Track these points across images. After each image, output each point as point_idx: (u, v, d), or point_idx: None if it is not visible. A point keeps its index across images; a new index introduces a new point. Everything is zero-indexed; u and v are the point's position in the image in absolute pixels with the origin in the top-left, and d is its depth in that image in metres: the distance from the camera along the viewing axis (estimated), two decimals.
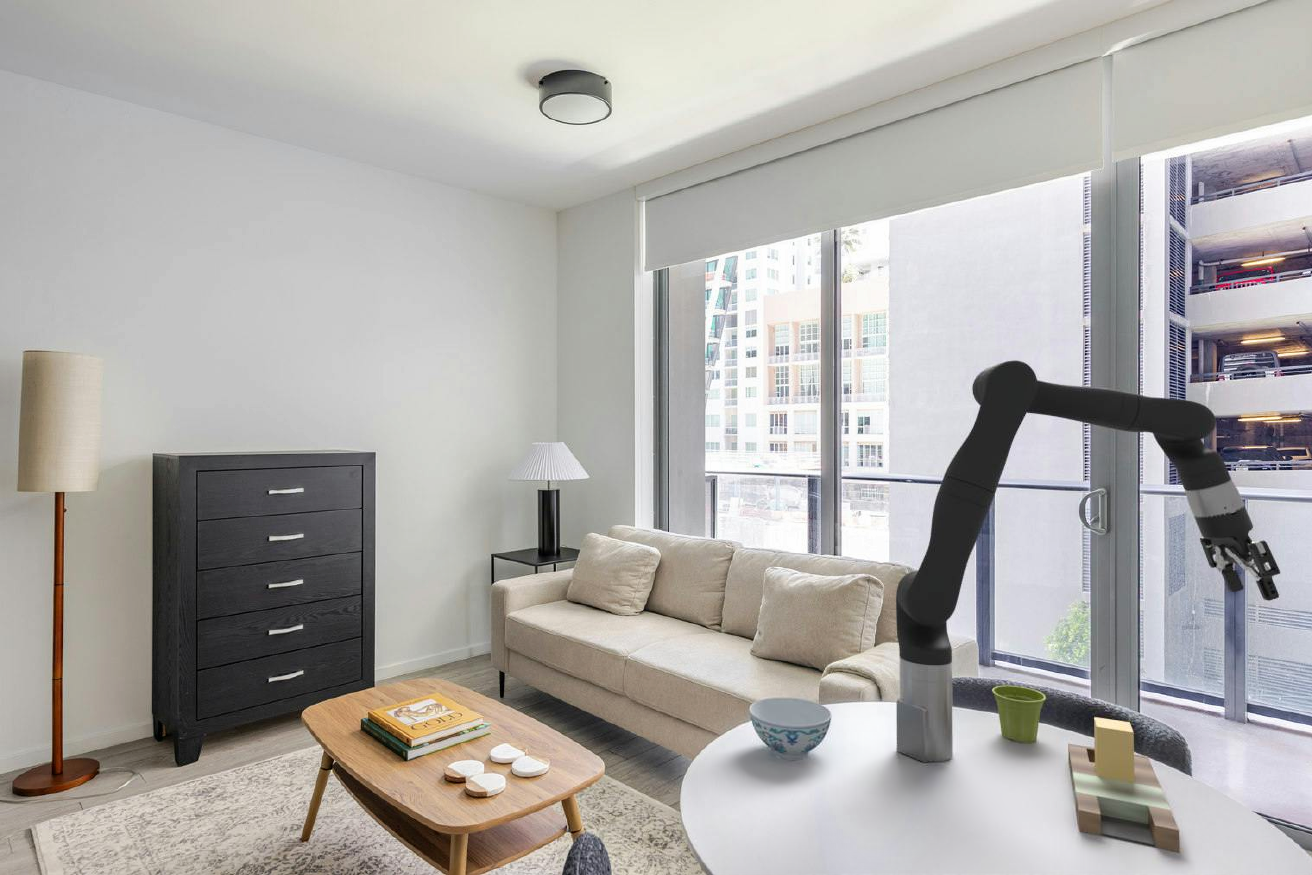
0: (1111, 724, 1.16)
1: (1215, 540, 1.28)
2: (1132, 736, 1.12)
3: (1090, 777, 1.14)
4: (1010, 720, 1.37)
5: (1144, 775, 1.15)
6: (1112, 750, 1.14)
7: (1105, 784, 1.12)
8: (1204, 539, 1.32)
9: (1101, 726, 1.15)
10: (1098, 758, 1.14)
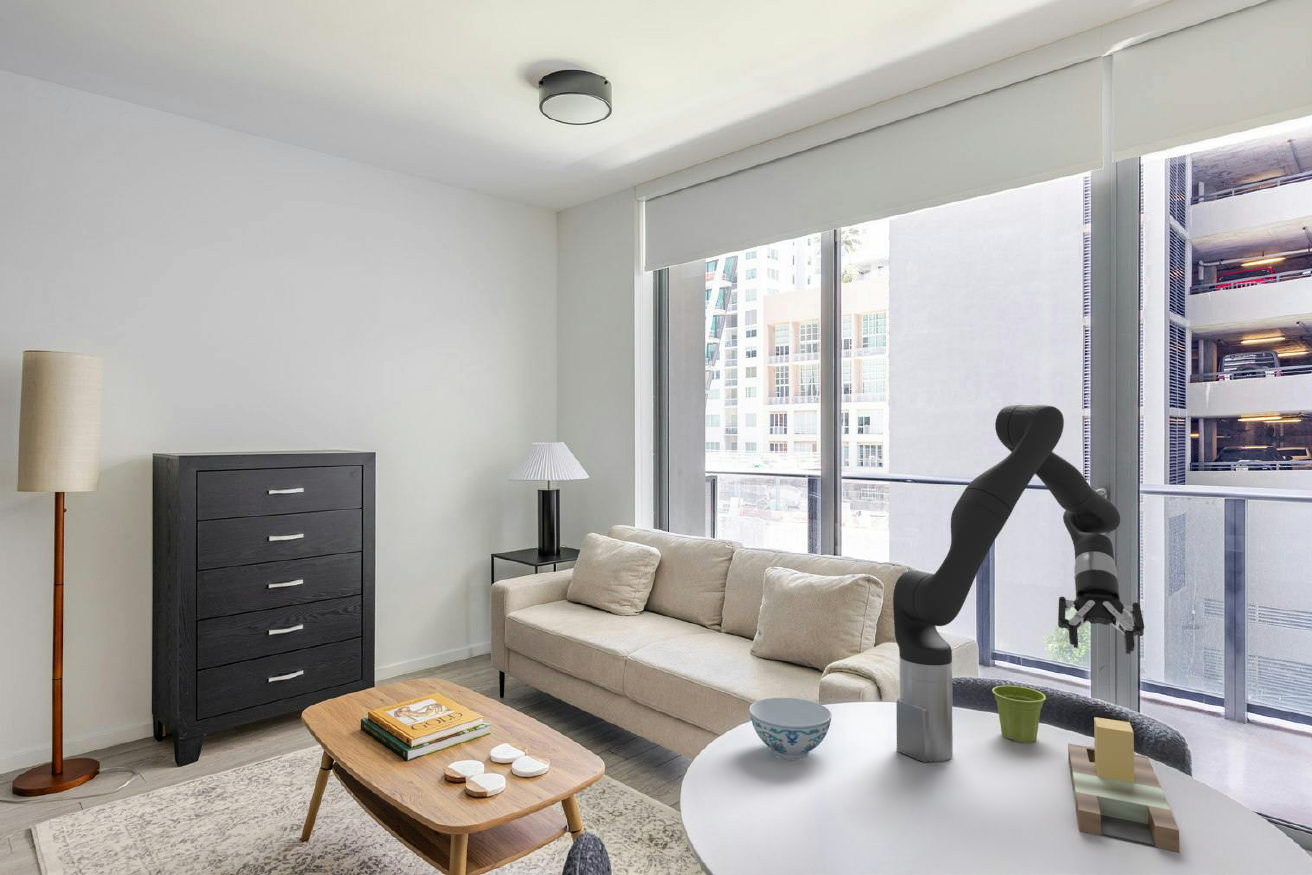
0: (1111, 724, 1.16)
1: (1084, 599, 1.41)
2: (1132, 736, 1.12)
3: (1090, 777, 1.14)
4: (1010, 720, 1.37)
5: (1144, 775, 1.15)
6: (1112, 750, 1.14)
7: (1105, 784, 1.12)
8: None
9: (1101, 726, 1.15)
10: (1098, 758, 1.14)
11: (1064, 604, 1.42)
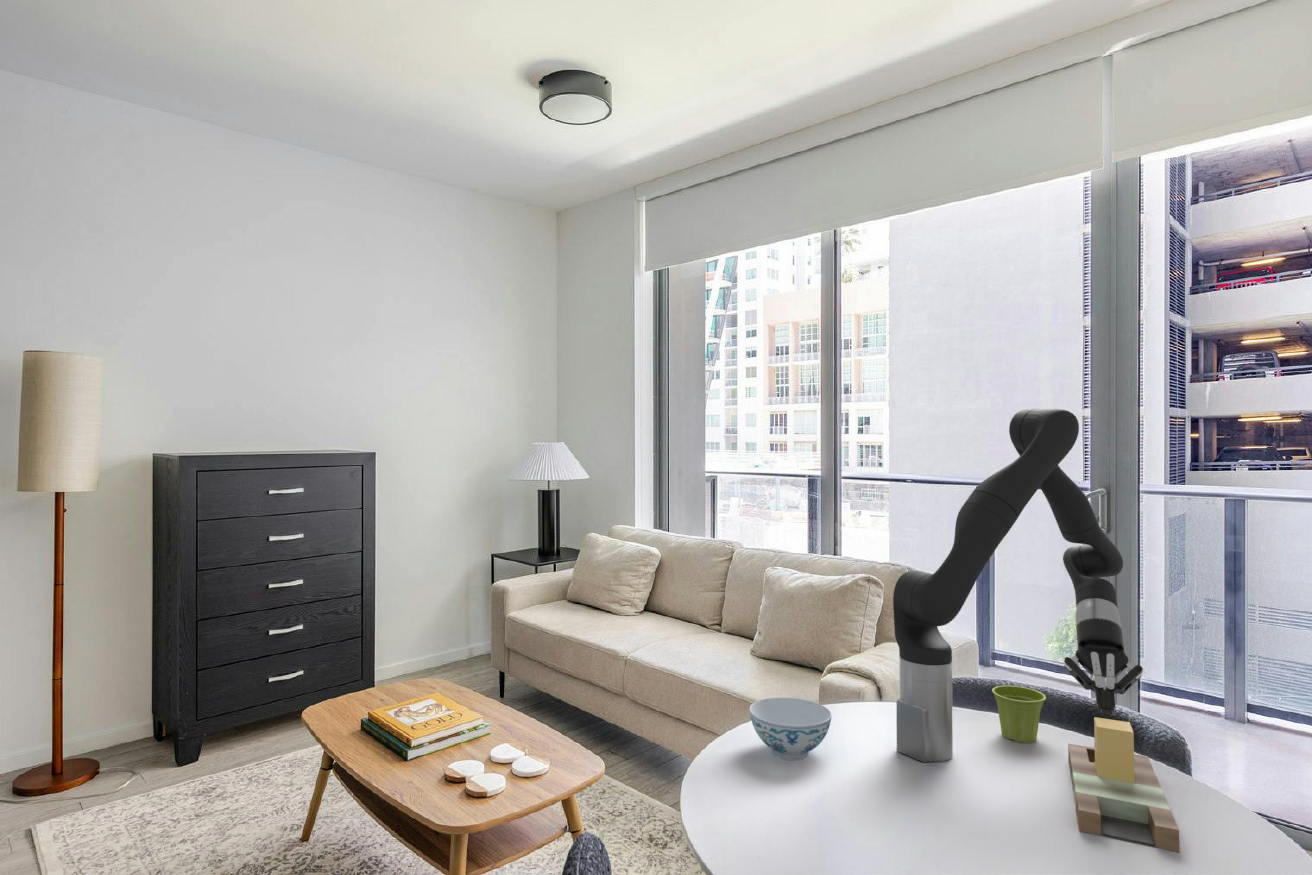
0: (1111, 724, 1.16)
1: (1082, 648, 1.34)
2: (1132, 736, 1.12)
3: (1090, 777, 1.14)
4: (1010, 720, 1.37)
5: (1144, 775, 1.15)
6: (1112, 750, 1.14)
7: (1105, 784, 1.12)
8: None
9: (1101, 726, 1.15)
10: (1098, 758, 1.14)
11: (1075, 664, 1.32)
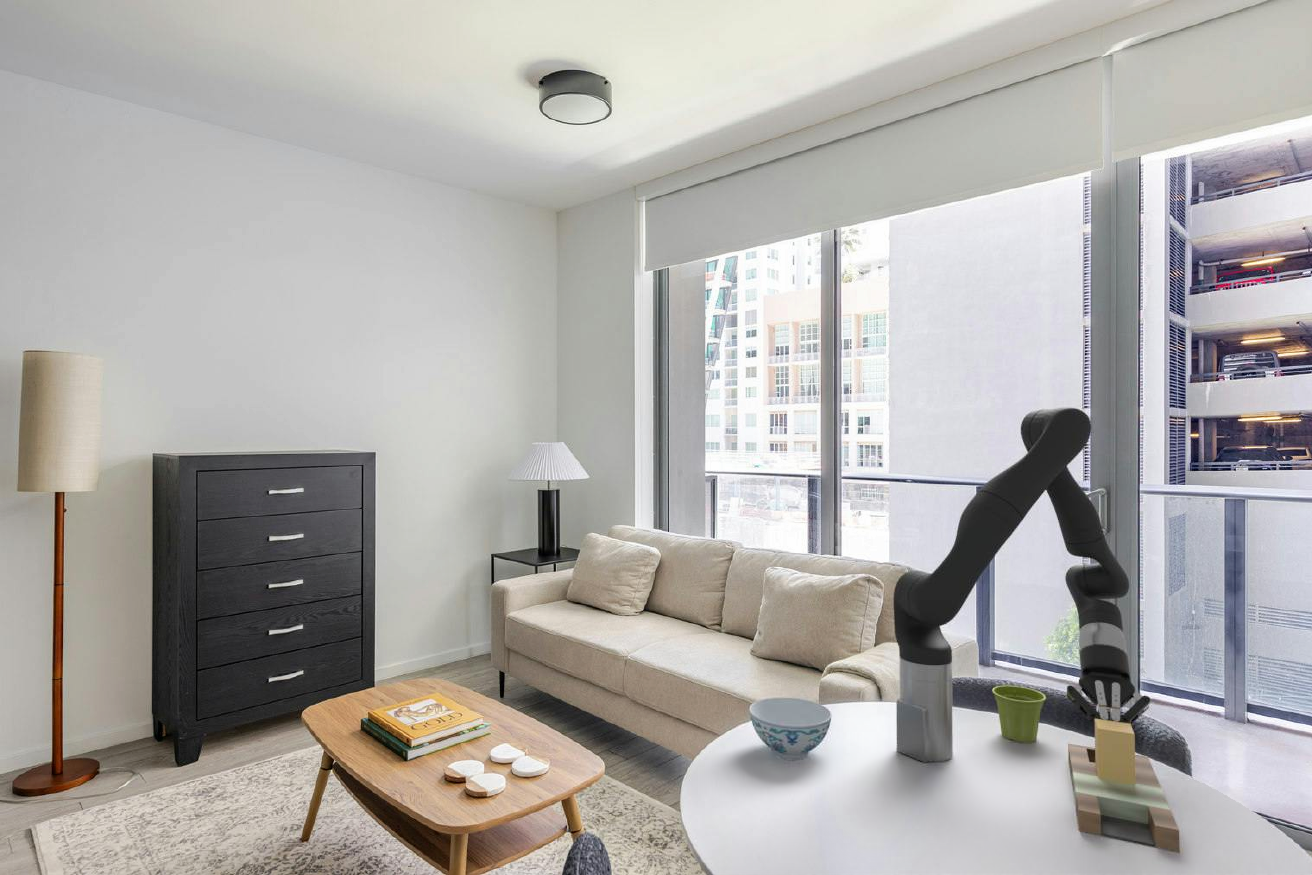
0: (1111, 726, 1.15)
1: (1086, 676, 1.26)
2: (1133, 738, 1.12)
3: (1090, 777, 1.14)
4: (1010, 720, 1.37)
5: (1144, 775, 1.15)
6: (1113, 752, 1.13)
7: (1105, 784, 1.12)
8: None
9: (1102, 728, 1.14)
10: (1099, 760, 1.14)
11: (1078, 693, 1.24)
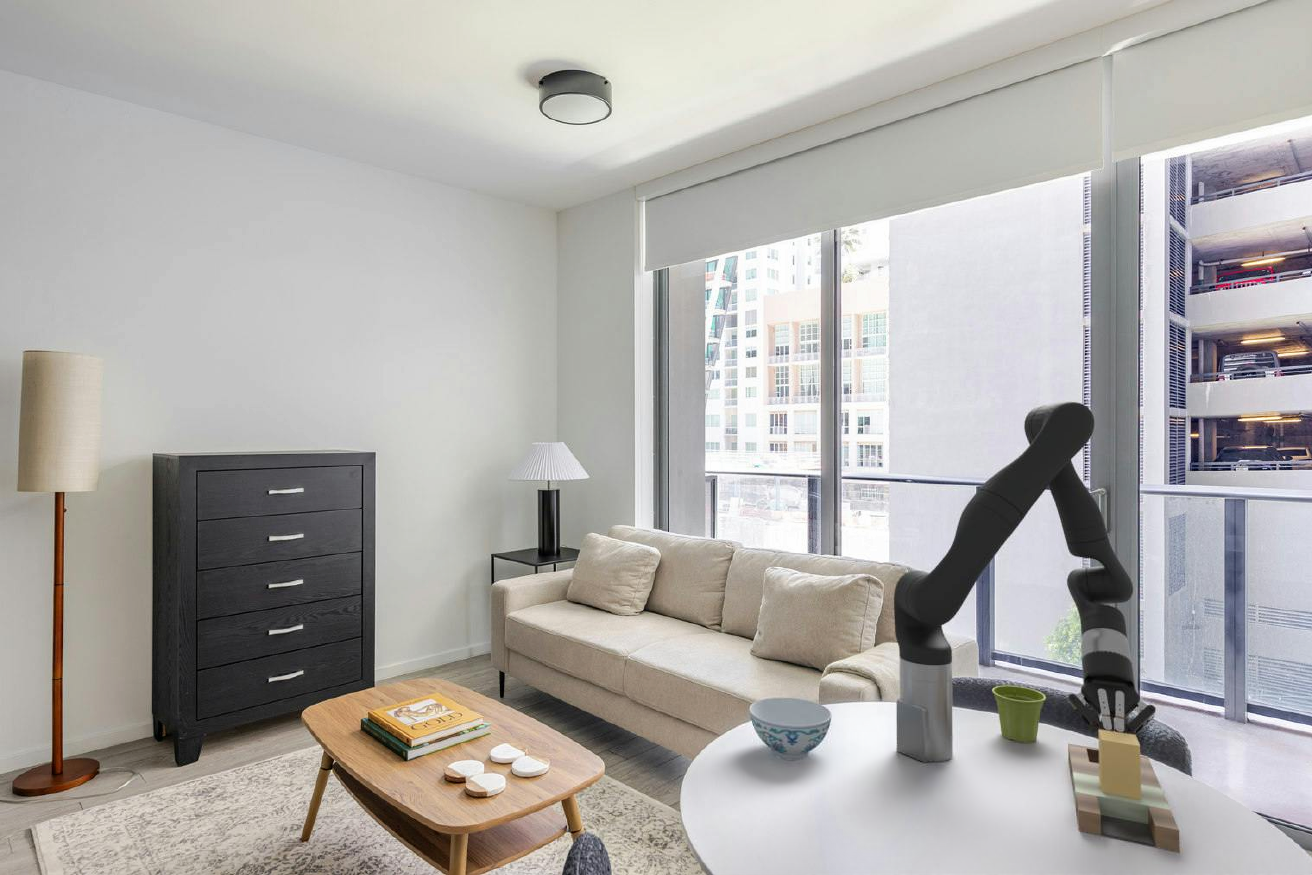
0: (1116, 737, 1.10)
1: (1089, 684, 1.21)
2: (1139, 750, 1.07)
3: (1090, 777, 1.14)
4: (1010, 720, 1.37)
5: (1144, 775, 1.15)
6: (1118, 765, 1.08)
7: None
8: None
9: (1106, 739, 1.09)
10: (1103, 773, 1.09)
11: (1080, 702, 1.19)
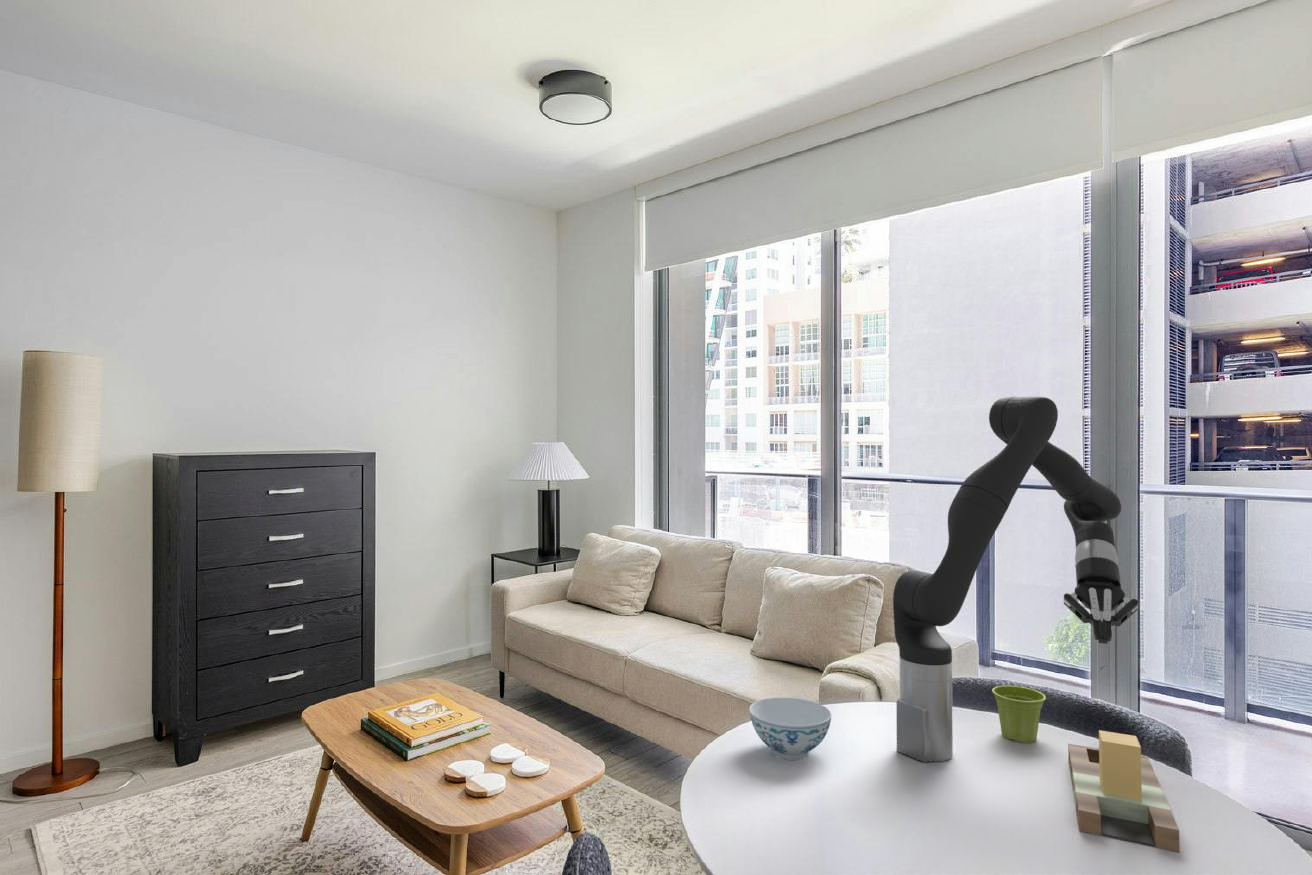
0: (1116, 738, 1.10)
1: (1081, 585, 1.40)
2: (1139, 751, 1.06)
3: (1090, 777, 1.14)
4: (1010, 720, 1.37)
5: (1144, 775, 1.15)
6: (1118, 766, 1.08)
7: None
8: None
9: (1107, 741, 1.09)
10: (1103, 774, 1.08)
11: (1073, 599, 1.39)
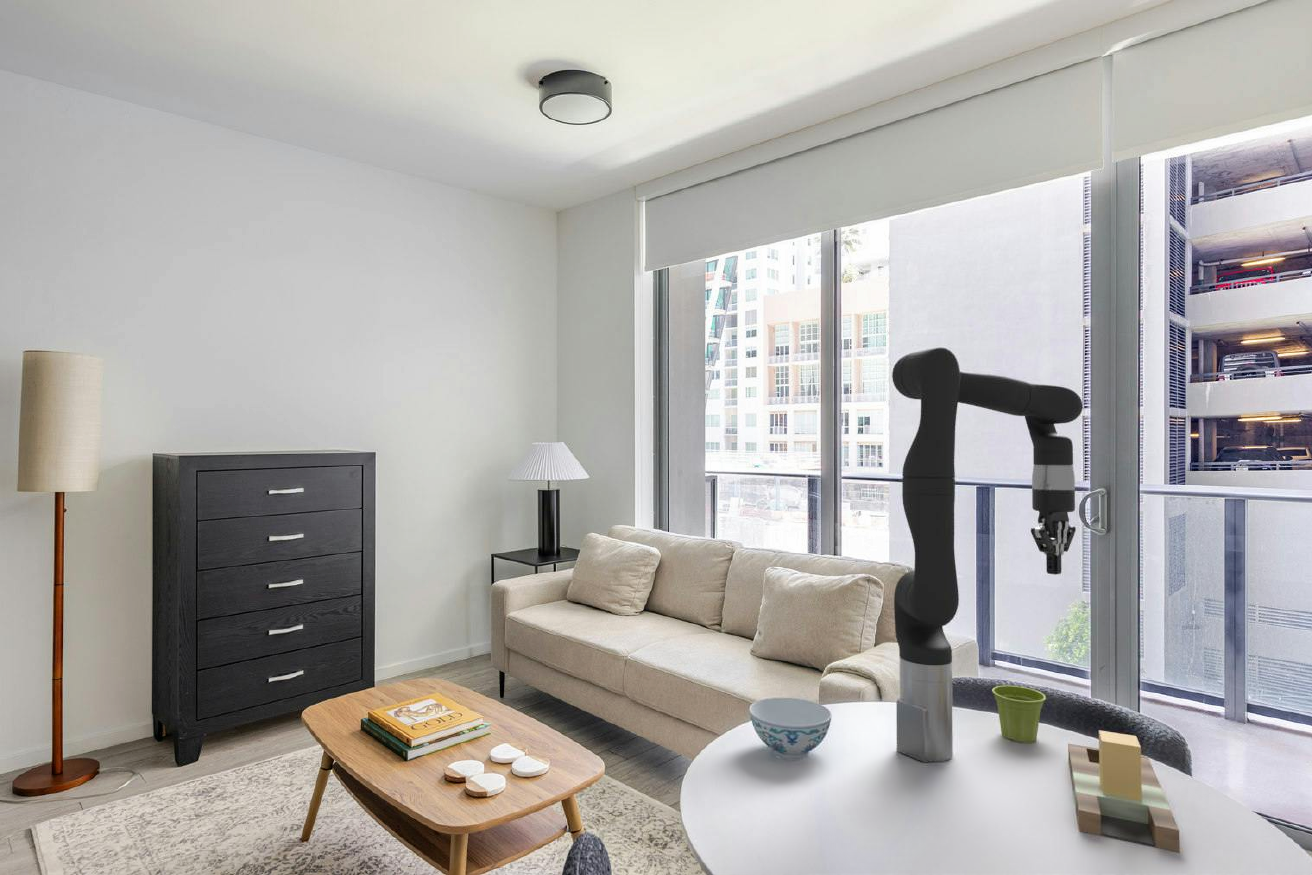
0: (1116, 738, 1.10)
1: (1051, 516, 1.39)
2: (1139, 751, 1.06)
3: (1090, 777, 1.14)
4: (1010, 720, 1.37)
5: (1144, 775, 1.15)
6: (1118, 766, 1.08)
7: None
8: None
9: (1107, 741, 1.09)
10: (1103, 774, 1.08)
11: (1047, 535, 1.38)
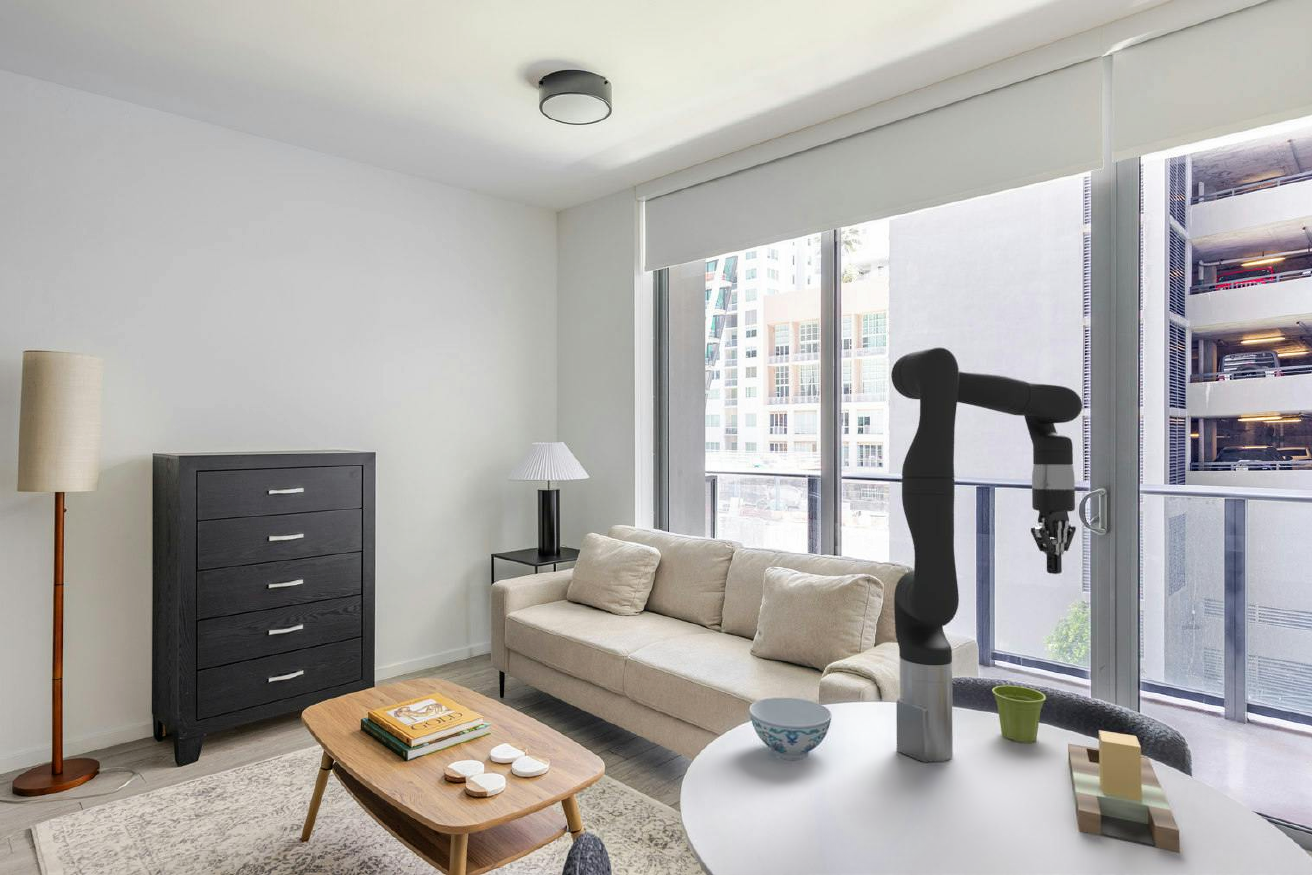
0: (1116, 738, 1.10)
1: (1051, 516, 1.39)
2: (1139, 751, 1.06)
3: (1090, 777, 1.14)
4: (1010, 720, 1.37)
5: (1144, 775, 1.15)
6: (1118, 766, 1.08)
7: None
8: None
9: (1107, 741, 1.09)
10: (1103, 774, 1.08)
11: (1047, 534, 1.38)
